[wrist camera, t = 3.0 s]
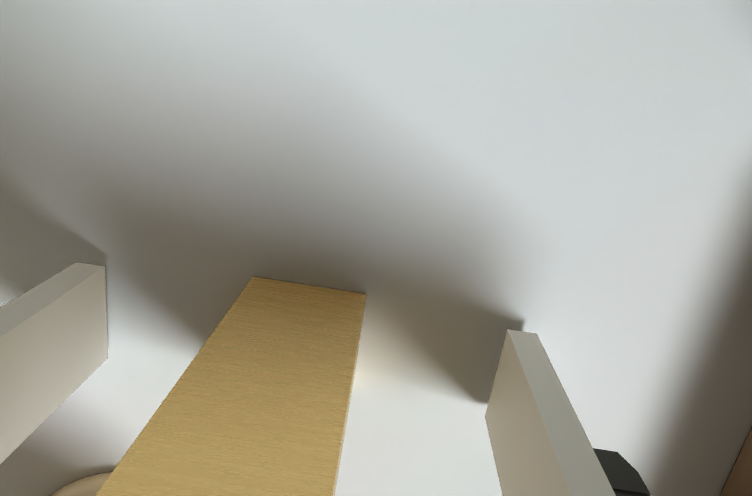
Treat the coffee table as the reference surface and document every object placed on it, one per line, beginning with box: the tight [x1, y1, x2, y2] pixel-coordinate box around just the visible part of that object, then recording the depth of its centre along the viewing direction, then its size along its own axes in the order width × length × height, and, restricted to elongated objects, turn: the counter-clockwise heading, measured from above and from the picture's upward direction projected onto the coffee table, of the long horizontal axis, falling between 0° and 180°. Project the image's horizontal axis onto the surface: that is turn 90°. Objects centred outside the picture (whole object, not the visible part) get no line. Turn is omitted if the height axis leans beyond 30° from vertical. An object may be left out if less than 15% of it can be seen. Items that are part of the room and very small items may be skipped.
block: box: [95, 276, 366, 496], centre depth 10 cm, size 3×3×8 cm
